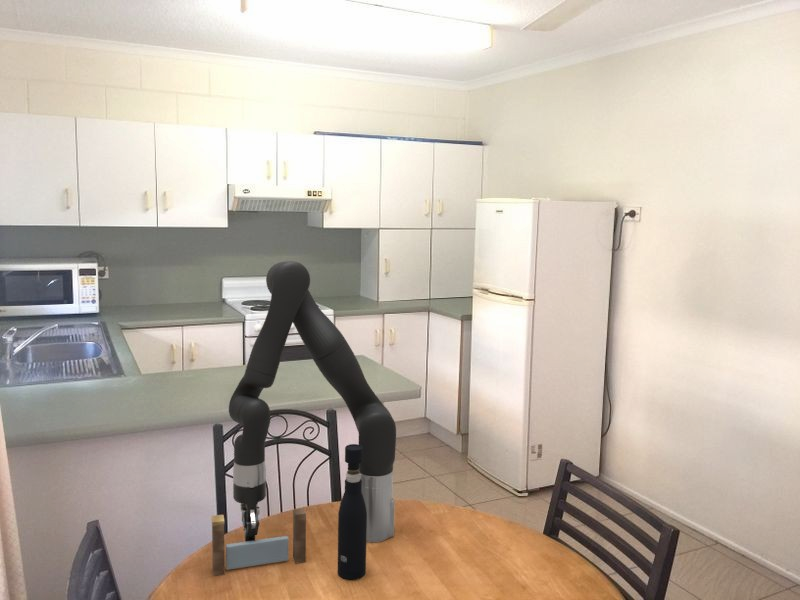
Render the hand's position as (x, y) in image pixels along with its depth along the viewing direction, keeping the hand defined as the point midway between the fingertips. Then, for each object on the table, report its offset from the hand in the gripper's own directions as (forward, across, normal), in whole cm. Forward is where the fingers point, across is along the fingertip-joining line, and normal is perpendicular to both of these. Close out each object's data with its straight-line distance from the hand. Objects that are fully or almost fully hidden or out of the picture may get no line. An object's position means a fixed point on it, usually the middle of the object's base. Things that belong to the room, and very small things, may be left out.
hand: (250, 547), depth 161 cm
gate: (+1, +6, +1) cm, 6 cm away
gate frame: (+2, +6, +1) cm, 6 cm away
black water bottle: (+2, +15, +21) cm, 26 cm away
